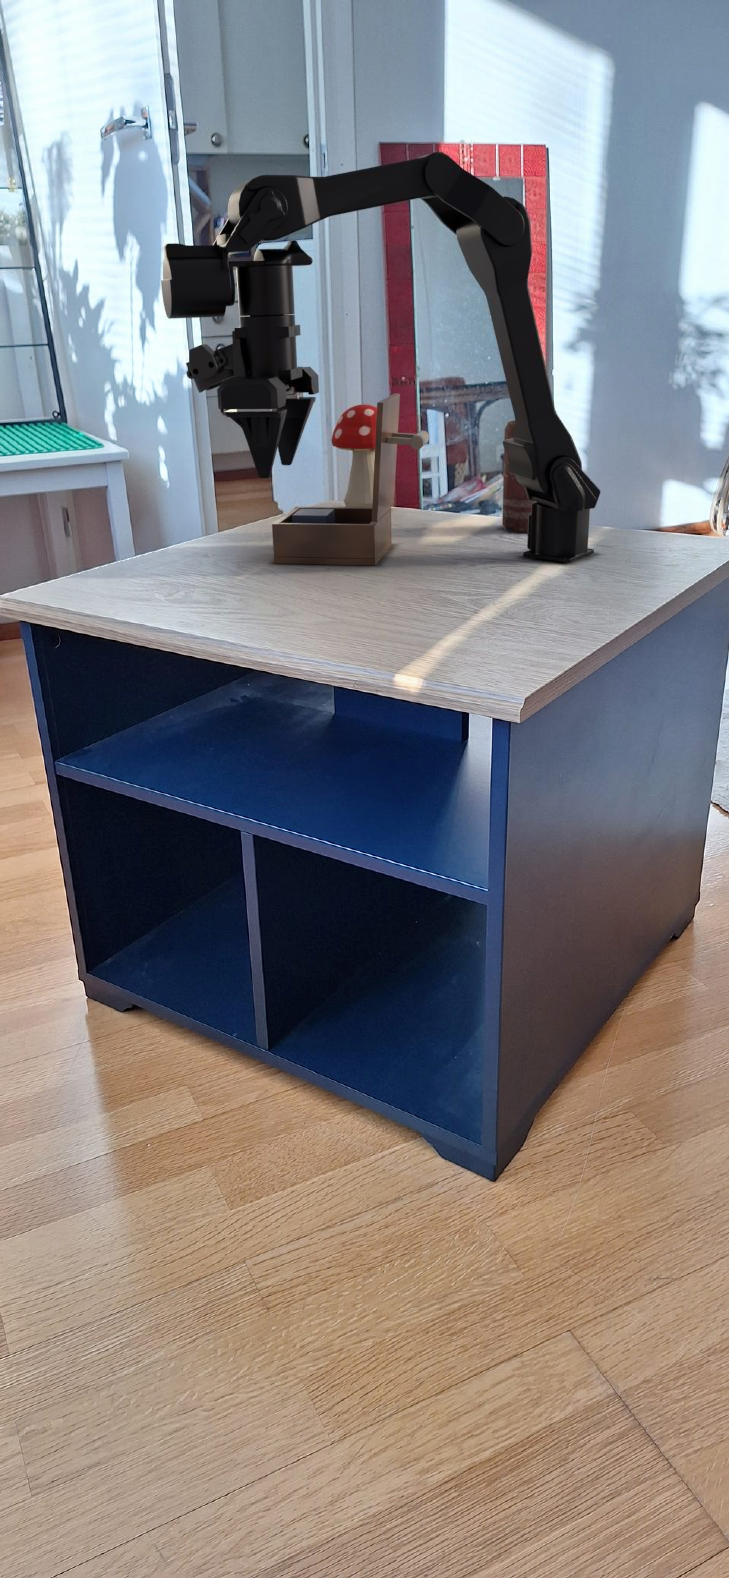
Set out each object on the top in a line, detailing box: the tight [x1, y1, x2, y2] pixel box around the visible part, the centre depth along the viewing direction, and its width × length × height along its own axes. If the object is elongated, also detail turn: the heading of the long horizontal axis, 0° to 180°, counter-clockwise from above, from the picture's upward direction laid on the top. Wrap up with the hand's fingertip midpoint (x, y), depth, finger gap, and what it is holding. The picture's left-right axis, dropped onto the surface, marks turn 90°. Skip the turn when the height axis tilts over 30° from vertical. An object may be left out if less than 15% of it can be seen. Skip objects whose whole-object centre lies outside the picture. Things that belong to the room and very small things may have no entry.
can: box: [501, 420, 536, 534], centre depth 148 cm, size 6×6×14 cm
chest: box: [271, 506, 393, 566], centre depth 139 cm, size 13×12×5 cm
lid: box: [372, 392, 430, 522], centre depth 134 cm, size 13×12×5 cm
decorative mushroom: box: [331, 403, 377, 507], centre depth 164 cm, size 10×9×15 cm
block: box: [292, 509, 335, 524], centre depth 139 cm, size 4×4×4 cm
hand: (275, 471), depth 121 cm, fingers open, 9 cm apart
